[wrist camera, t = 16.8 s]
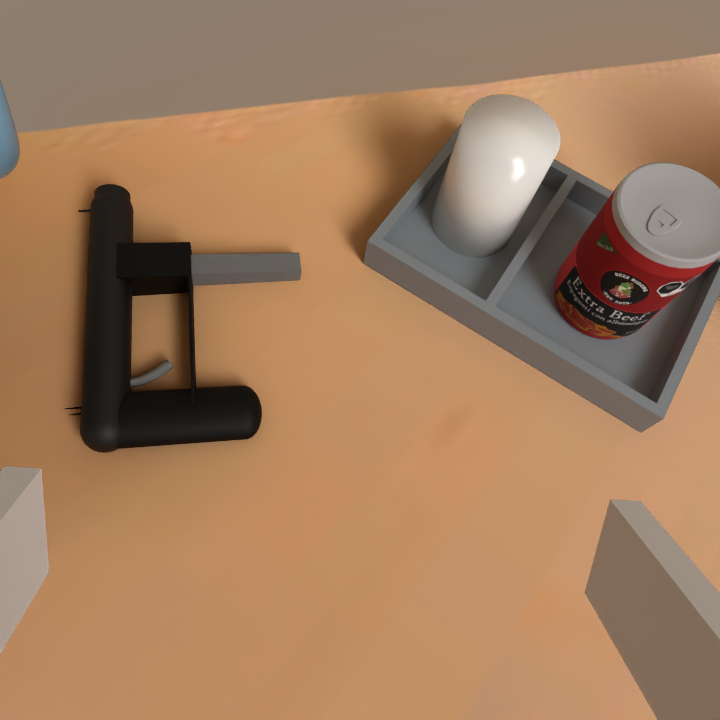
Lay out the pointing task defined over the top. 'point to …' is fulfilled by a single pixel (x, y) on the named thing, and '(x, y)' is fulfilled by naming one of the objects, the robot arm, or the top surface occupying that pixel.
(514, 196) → the ceramic jar
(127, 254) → the toy submachine gun
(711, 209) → the canned food
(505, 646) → the top surface
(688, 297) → the caddy
